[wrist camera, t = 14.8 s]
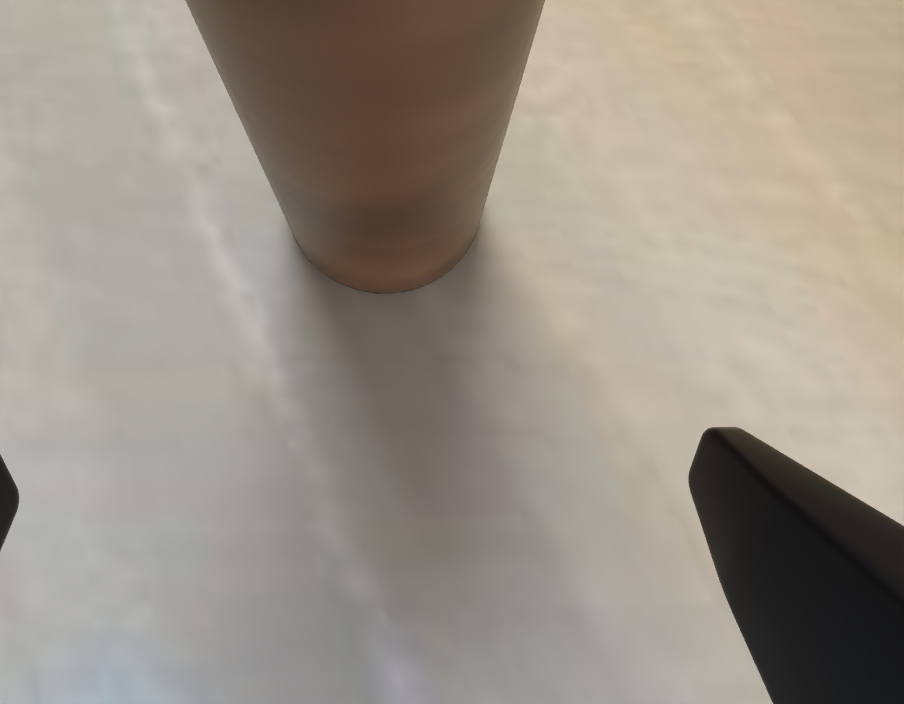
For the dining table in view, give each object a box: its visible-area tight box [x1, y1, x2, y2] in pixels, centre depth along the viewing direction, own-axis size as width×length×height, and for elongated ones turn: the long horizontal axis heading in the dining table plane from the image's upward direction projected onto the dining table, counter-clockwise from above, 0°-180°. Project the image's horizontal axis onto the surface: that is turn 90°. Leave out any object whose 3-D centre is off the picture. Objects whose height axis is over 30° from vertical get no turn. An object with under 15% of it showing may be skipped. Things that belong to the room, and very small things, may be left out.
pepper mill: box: [186, 0, 545, 293], centre depth 11 cm, size 6×6×13 cm
